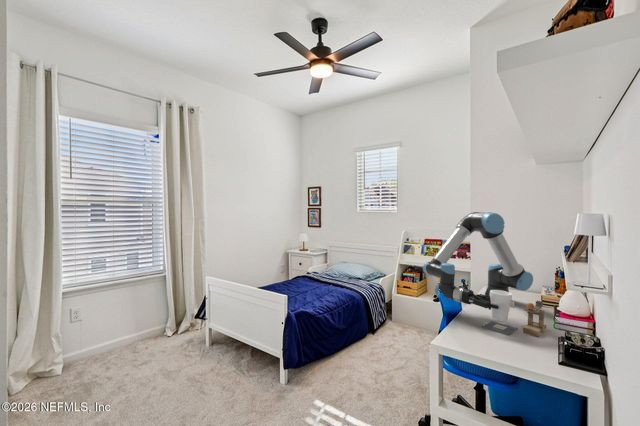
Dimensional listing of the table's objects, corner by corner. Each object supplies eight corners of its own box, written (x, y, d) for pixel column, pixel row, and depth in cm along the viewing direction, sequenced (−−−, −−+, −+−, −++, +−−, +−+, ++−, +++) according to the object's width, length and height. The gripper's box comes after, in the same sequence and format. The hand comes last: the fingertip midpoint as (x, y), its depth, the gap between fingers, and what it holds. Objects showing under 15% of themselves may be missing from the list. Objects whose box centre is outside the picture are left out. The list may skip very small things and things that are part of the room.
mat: (491, 321, 161) (491, 320, 161) (517, 329, 152) (517, 327, 152) (482, 327, 153) (482, 325, 153) (508, 335, 144) (508, 334, 144)
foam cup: (514, 323, 147) (515, 296, 147) (492, 321, 149) (494, 294, 149) (506, 316, 156) (507, 290, 156) (486, 314, 158) (487, 289, 158)
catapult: (532, 325, 157) (533, 296, 156) (546, 329, 152) (547, 298, 152) (520, 334, 146) (522, 302, 146) (535, 338, 141) (537, 305, 141)
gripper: (472, 299, 173) (518, 310, 156) (453, 306, 159) (501, 319, 142) (473, 285, 173) (518, 295, 156) (454, 292, 159) (502, 303, 142)
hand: (510, 307), depth 149 cm, fingers closed on foam cup, 9 cm apart
